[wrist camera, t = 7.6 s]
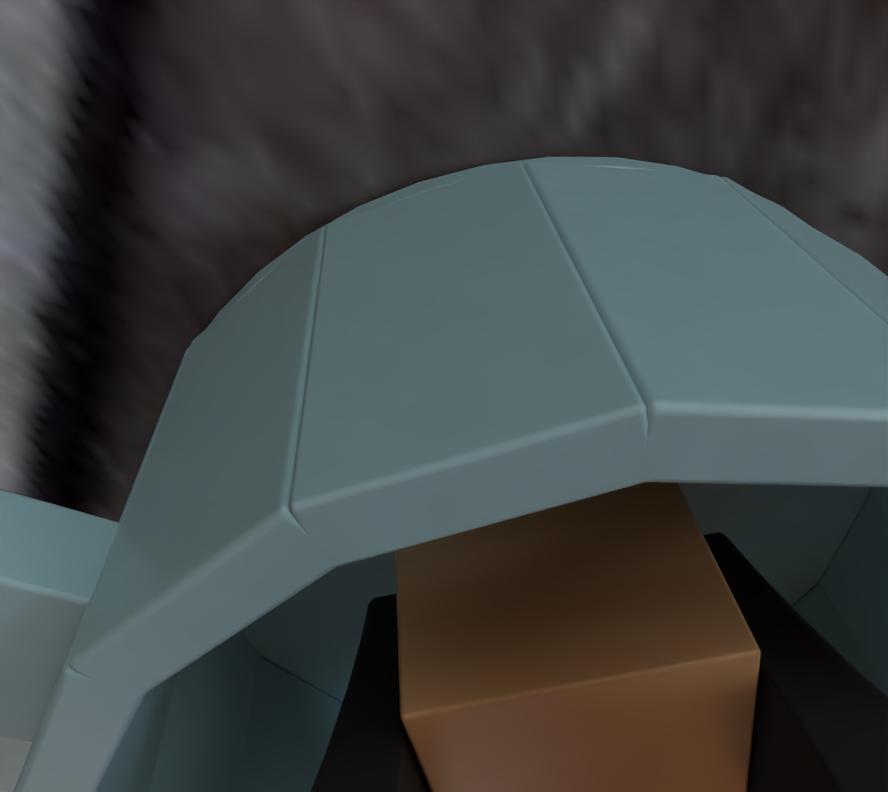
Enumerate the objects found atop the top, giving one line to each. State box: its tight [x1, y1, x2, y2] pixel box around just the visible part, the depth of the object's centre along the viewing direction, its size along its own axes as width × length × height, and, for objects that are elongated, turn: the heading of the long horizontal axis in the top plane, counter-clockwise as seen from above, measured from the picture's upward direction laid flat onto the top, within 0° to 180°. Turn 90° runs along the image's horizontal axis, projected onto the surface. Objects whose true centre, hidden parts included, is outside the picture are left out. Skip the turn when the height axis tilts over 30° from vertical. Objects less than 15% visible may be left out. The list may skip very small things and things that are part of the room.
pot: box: [0, 157, 888, 792], centre depth 11 cm, size 13×18×5 cm
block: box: [395, 482, 761, 792], centre depth 11 cm, size 4×4×4 cm
